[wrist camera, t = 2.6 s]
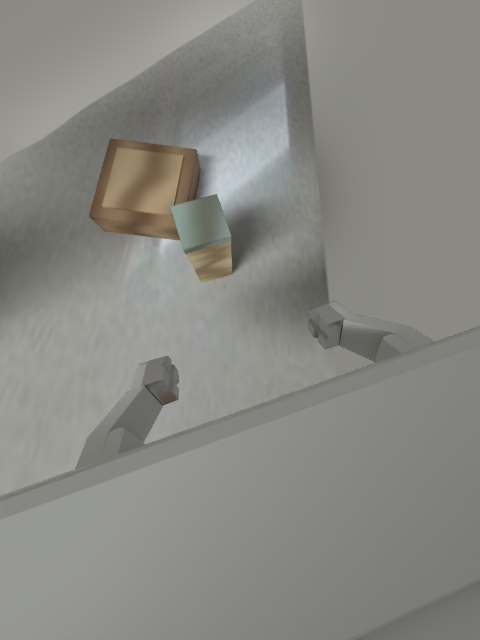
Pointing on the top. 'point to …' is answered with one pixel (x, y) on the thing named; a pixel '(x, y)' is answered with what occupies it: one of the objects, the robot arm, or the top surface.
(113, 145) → the base slab
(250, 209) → the top surface
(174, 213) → the tan tall block
